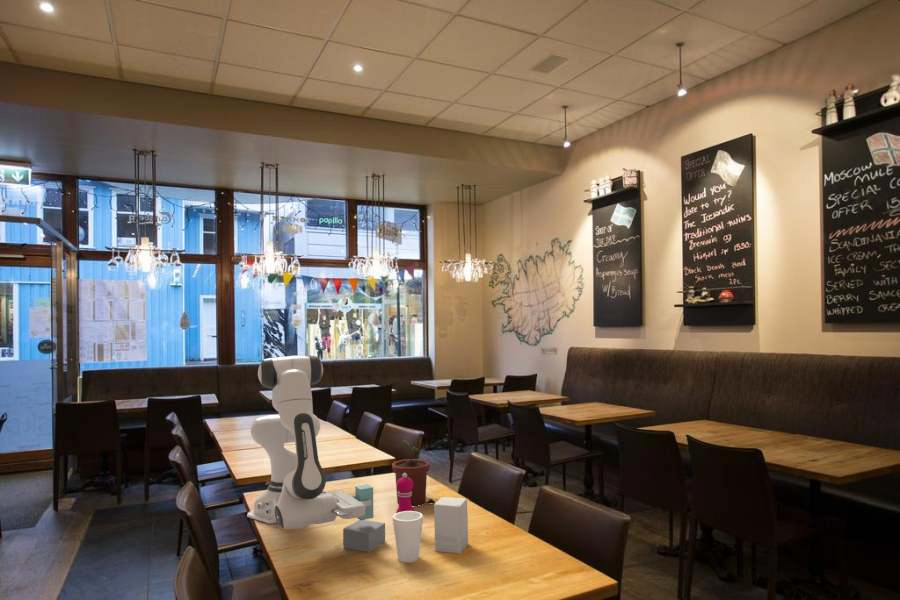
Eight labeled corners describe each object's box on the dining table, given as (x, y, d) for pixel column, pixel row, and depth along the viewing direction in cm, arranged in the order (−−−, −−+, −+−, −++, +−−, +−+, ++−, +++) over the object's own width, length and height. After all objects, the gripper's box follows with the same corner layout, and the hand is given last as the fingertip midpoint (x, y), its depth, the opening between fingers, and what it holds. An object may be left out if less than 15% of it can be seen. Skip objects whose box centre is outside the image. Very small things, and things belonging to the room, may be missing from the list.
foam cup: (411, 566, 169) (410, 523, 169) (387, 560, 174) (386, 517, 174) (429, 555, 177) (428, 513, 177) (405, 549, 182) (405, 509, 182)
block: (360, 520, 184) (360, 489, 184) (355, 516, 188) (355, 486, 188) (373, 517, 186) (373, 487, 187) (367, 514, 190) (367, 484, 191)
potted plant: (381, 502, 231) (381, 441, 232) (419, 490, 247) (418, 433, 248) (411, 511, 219) (410, 447, 220) (448, 498, 235) (447, 438, 236)
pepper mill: (412, 534, 195) (411, 476, 196) (392, 532, 197) (392, 475, 198) (417, 526, 202) (417, 470, 203) (398, 525, 204) (398, 470, 205)
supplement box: (469, 543, 186) (468, 498, 187) (460, 554, 177) (460, 506, 178) (443, 540, 189) (442, 495, 190) (434, 551, 180) (433, 503, 181)
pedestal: (343, 547, 184) (343, 528, 185) (360, 536, 193) (360, 519, 194) (368, 552, 180) (368, 533, 180) (385, 541, 189) (385, 523, 189)
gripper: (338, 505, 172) (379, 497, 179) (316, 490, 189) (354, 483, 196) (339, 526, 171) (380, 518, 179) (316, 509, 189) (355, 502, 196)
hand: (366, 500), depth 188 cm, fingers closed on block, 4 cm apart
